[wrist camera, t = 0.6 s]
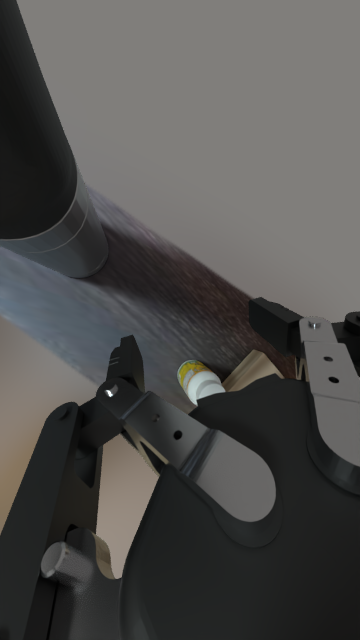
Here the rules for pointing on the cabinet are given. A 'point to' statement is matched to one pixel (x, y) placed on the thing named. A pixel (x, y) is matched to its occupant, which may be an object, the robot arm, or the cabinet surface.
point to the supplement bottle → (198, 380)
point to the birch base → (250, 371)
